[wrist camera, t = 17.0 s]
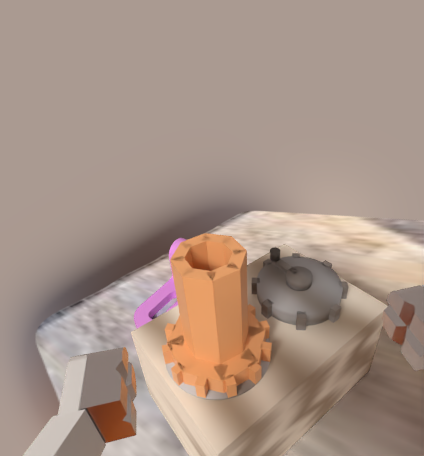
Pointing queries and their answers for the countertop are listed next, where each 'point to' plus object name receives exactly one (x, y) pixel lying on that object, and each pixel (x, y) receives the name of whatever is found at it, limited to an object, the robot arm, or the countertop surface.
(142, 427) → the countertop surface
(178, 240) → the bracket
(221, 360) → the orange gear
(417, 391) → the countertop surface
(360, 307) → the gearbox
